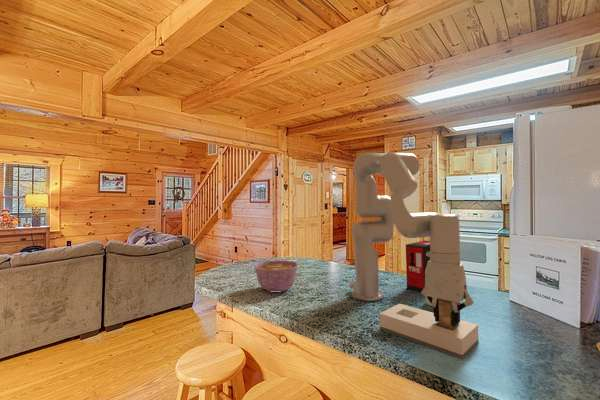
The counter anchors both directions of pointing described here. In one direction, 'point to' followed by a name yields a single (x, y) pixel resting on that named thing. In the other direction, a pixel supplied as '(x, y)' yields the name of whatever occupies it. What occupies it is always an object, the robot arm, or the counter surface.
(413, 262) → the cleaning product box
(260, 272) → the bowl of food
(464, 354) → the hole block
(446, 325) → the oak pin
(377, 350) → the counter surface
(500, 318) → the counter surface
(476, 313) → the counter surface
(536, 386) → the counter surface
